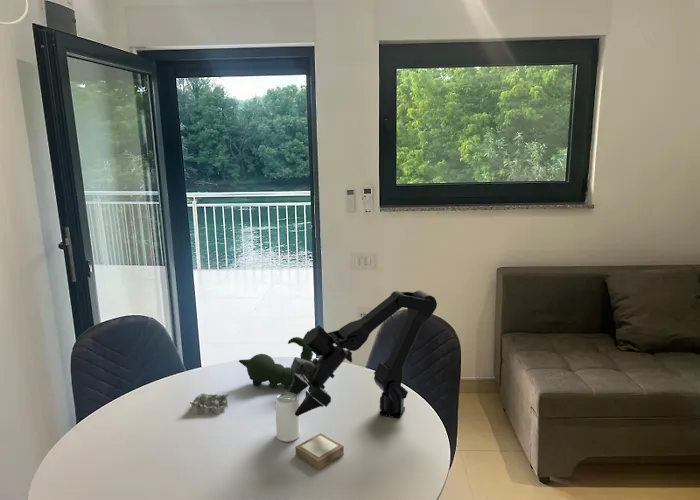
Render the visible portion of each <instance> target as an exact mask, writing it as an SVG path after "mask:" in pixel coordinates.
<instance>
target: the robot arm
mask: <svg viewBox="0 0 700 500" xmlns="http://www.w3.org/2000/svg"><path fill="white" fill-rule="evenodd" d="M437 305H438V303H437V300H436V298H435V297H434V296H433V295H430V294H429V293H427V292H425V291H422V290H416V291H398V290H395V291H392V292H391V294H390V296H388V297H386V298H385V299H383V301H381V302H380V303H379V304H378V305H377V306H375V307H374V308H373V309H372V310H370V311H369V312H367V313H366V314H365V315H364V316H363V317H361V318H360V319H357V320H354V321H350V322H349V323H347V324H345V325H343V326H342V327H340V328H339V329H336V330H333V331H329V332H327V331H326V330H325V329H324V328H323V327H322V326H321V325H320V324H318V325H317V326H316V327H314V328H311V329H310V330H308V331H307V332H306V333H305V335H304V336H303V338H302V339H303V344H304V345H305V346H306V347H308V348H309V349H310V350H311V351H312V353H313V354H315V355H316V356H319V358H314V359H313V358H312V362H310V361H307V360H304V359H301V357H297V356H295V357H294V358H293V361H292V363H291V366H290V368H291V369H292V370H293V371H292V375H293V381H292V384H291V385H290V386H289V389H288V391H287V392H290V393H294V394H296V395H297V396H298V395H299V394H300V393H301V392H302V391H304V390H305V389H307V388H308V390H305V394H304V395H305V397H304V399H303V401H302V402H301V403H300V404H299V407H298V409H297V410H296V412H295V415H296V416H299V417H300V416H301V415H303V414H306V413H307V412H310V411H312V410H314V409H317V408H321V407H322V408H323V407H326V408H327V407H328V406H329V405H330V404H331V402H332V397H331V395H330V394H329V392H328V391H326V390H325V388H326V386H325V384H326V382H327V381H328V380H329V379H330V378H331V379H334V378H335V374H334V373H335V372H336V371H337V370H338V368H339V367H340V366H341V365H342V363H344V361H346V360H347V361H348V362H349V363H352V362H353V358H352V357H353V356H352V355H353V353H352V352H355V351H357V350H360V348H361V347H362V346H363V345H364V344H365V343H366V341H367V340H368V338H369V336H370V335H371V333H372V332H373V331H374V330H376V329H377V328H378V327H379V326H380V325H382V324H383V323H384V322H386V321H387V320H388V319H389V318H391V317H392V316H393V315H394V314H396V313H397V312H398V311H399V310H400V309H402V308H403V309H404V308H405V309H407V313H406V314H407V317H406V319H405V322H404V324H403V326H402V327H401V330H400V333H399V335H398V337H397V339H396V341H395V344H394V346H393V348H392V351H391V353H390V355H389V357H388V359H387V360H385V362H384V363H383V362H381V361H380V362H379V363H378V364H377V368H376V369H375V371H374V372H373V374H374V377H373V380H374V383H375V384H376V386H378V387H379V389H380V390H381V391H382V393H381V396H380V398H379V410H380V412H379V415H380V416H384V417H389V418H395V419H401V418H402V416H403V414H404V411H405V410H406V406H404V405H405V404H404V403H405V401H404V399H406V398H407V397H408V393H409V391H408V390H406V388H405V387H403V385H402V381H403V377H404V372H403V371H404V370H403V369H404V365H405V363H406V360H407V359H408V356H409V354H410V351H411V350H412V348H413V345H414V343H415V342H416V339H417V337H418V334H419V333H420V330H421V328H422V326H423V324H424V323H426V322H427V321H428V320H429V319H430V318H431V317H432V316H433V314H434V313H435V310H436V309H437V307H438V306H437Z"/></svg>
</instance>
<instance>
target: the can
mask: <svg viewBox="0 0 700 500" xmlns="http://www.w3.org/2000/svg"><path fill="white" fill-rule="evenodd" d="M299 406H300V401H299V399H298V394H297V395H296V394H294V393H290V392H288V391H287V392H282V393H280V394H278V395H277V396H276V401H275V424H276V425H275V427H276V428H275V429H276V430H275V431H276V438H277V439H278V440H279V441H280V442H283V443H290V442H295V441H296V440H297V439H298V438H299V437H300V415H299V416H296V415H295V412H296V410H297V409H298V407H299Z"/></svg>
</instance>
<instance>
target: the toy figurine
mask: <svg viewBox="0 0 700 500" xmlns="http://www.w3.org/2000/svg"><path fill="white" fill-rule="evenodd" d="M287 344H288V345H289V344H295V345H296V344H297V345H298V346H299V347H302V349H301V350H302V351H301V353H300V358H301V359H304V360H307V361H310V362H312V361H313V356H314V352H312V351H311V350H310V349H309V348H308V347H306V346H305V345H304V344H303V338H302V337H299V336H295V337H292V338H291V339H288V342H287ZM238 362H239V363H240V364H241V365H243V367H244V368H246V371H247V375H248V376H249V377H248V378H249V380H251V381H252V385H253V386H254V387H259V386H261V385H262V383H265V382H269V387H270V388H271V389H276V388H277V387H278V385H280V384H281V385H283V389H284V390H289V389H290V386H291V384H292V381H293V375H292V371H293V370H292V369H291V366H290V367H288V366H287V367H284V365H282V364H280V363H276V362H275V360H274V359H273V358H272V357H271V356H270V355H268V354H265V353H259V354H255V355H253V356H252V357H251V358H250V359H249V358H248V359H239V360H238Z"/></svg>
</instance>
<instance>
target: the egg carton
mask: <svg viewBox="0 0 700 500" xmlns="http://www.w3.org/2000/svg"><path fill="white" fill-rule="evenodd" d="M228 397H229V393H226V394H217V393H216V394H208V393H200V394H198V395H197V396H196V397H195V398H194V399H193V401H191V402H189V405H191V413H193V414H194V415H198V414H201V413H204V414H205V415H209V414H212V413H214V414H216V415H221V414H223V413H225V412H226V407H227V408H228V405H229V402H228V400H229V399H228ZM209 405H211V406H209ZM208 406H209V407H208Z"/></svg>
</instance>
